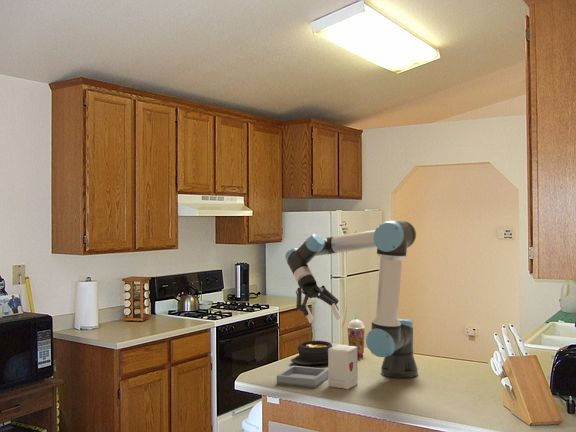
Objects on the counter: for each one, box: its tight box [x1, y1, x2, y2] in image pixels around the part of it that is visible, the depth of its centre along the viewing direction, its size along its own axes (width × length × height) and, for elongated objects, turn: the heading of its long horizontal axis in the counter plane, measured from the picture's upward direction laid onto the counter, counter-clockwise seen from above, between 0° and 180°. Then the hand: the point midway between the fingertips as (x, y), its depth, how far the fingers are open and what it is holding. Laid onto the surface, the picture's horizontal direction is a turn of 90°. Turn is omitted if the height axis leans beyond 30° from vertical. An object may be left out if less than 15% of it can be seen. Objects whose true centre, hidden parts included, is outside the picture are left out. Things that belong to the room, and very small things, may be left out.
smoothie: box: [346, 313, 366, 358], centre depth 282 cm, size 8×8×20 cm
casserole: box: [290, 340, 333, 366], centre depth 271 cm, size 25×19×8 cm
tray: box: [276, 365, 328, 389], centre depth 241 cm, size 16×16×4 cm
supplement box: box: [327, 344, 359, 390], centre depth 235 cm, size 9×9×15 cm
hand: (325, 319), depth 244 cm, fingers open, 13 cm apart
